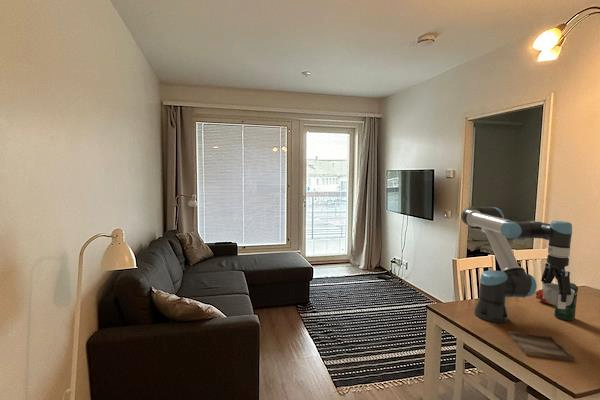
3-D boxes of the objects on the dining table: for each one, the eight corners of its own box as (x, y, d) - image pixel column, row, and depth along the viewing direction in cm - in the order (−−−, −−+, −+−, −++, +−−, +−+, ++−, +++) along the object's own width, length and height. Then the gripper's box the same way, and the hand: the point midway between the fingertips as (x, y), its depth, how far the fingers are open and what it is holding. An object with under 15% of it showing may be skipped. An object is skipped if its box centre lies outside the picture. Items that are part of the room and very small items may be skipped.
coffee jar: (571, 323, 160) (575, 287, 158) (552, 317, 166) (555, 282, 165) (576, 318, 166) (580, 283, 164) (557, 312, 172) (561, 279, 170)
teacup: (557, 299, 149) (559, 282, 148) (579, 309, 138) (581, 291, 138) (530, 299, 148) (531, 282, 147) (550, 309, 137) (551, 291, 137)
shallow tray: (508, 334, 146) (508, 330, 146) (551, 340, 142) (551, 336, 142) (525, 354, 129) (525, 350, 129) (574, 361, 125) (574, 357, 125)
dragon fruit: (533, 301, 191) (557, 311, 182) (531, 296, 186) (556, 306, 177) (538, 289, 193) (563, 298, 183) (537, 284, 187) (562, 293, 178)
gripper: (535, 249, 154) (530, 293, 156) (565, 262, 131) (559, 313, 133) (552, 250, 152) (548, 294, 154) (585, 263, 130) (580, 315, 132)
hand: (553, 303), depth 144 cm, fingers closed on teacup, 11 cm apart
